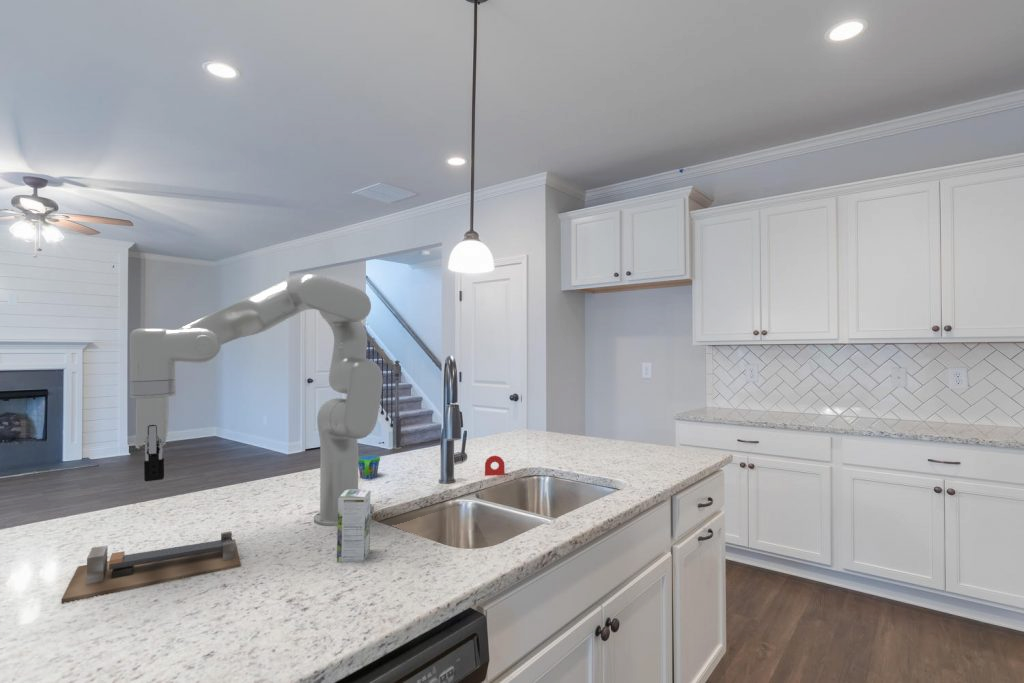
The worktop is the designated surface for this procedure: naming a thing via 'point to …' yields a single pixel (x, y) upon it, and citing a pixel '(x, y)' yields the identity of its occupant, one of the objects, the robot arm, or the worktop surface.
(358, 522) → the syrup box
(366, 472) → the snack cup
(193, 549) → the strap
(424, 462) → the worktop surface
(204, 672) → the worktop surface
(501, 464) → the bracket
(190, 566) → the latch board
